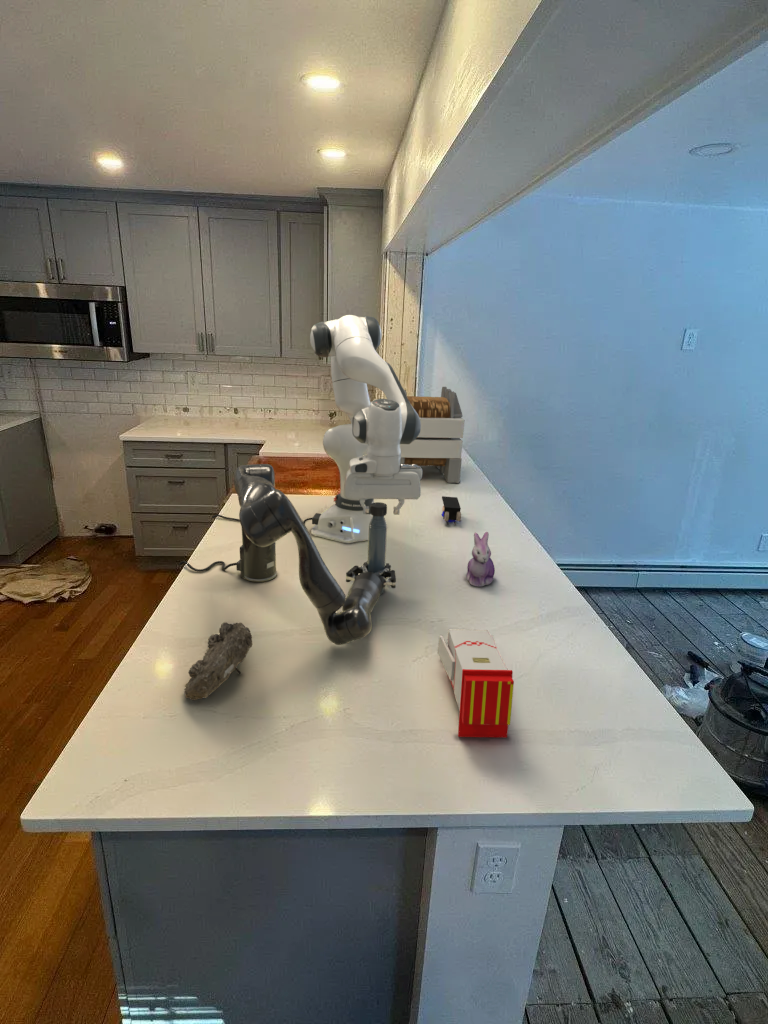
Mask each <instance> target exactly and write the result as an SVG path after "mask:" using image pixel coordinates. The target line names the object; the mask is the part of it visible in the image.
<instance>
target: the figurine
mask: <svg viewBox="0 0 768 1024" xmlns="http://www.w3.org/2000/svg"><path fill="white" fill-rule="evenodd" d="M489 534H490V533H489V531H485V532H484V533H483V535H482V537H480V536H479V534H478V532H474V533H473V542H474V543H473V545H474V546H473V547H472V551H471V555H472V558H471V559H469V560H468V563H467V568H466V569H467V571H466V580H467V581H468V583H469V584H470V585H471V586H475V587H484V586H489V585H491V583H492V582H493V580H494V576H495V572H496V571H495V570H496V568H495V564H494V561H493V560H492V558H491V556H492V551H491V547H490V546H489V543H488V541H489V536H490V535H489Z"/></svg>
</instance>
